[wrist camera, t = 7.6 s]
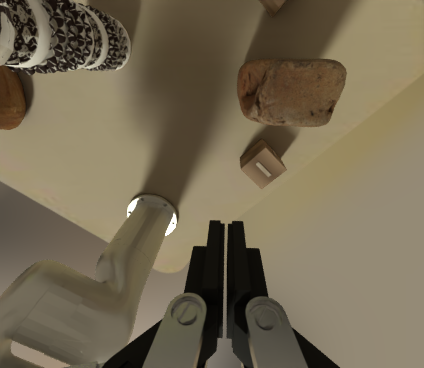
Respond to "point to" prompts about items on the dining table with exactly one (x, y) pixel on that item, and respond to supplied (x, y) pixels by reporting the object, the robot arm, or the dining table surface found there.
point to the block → (290, 91)
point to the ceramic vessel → (11, 99)
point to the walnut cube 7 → (272, 5)
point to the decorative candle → (60, 37)
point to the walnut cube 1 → (262, 164)
